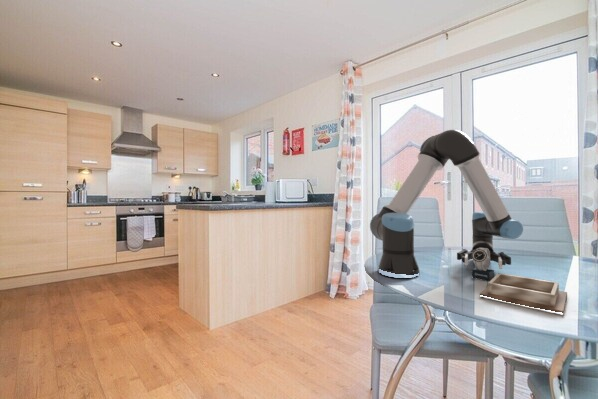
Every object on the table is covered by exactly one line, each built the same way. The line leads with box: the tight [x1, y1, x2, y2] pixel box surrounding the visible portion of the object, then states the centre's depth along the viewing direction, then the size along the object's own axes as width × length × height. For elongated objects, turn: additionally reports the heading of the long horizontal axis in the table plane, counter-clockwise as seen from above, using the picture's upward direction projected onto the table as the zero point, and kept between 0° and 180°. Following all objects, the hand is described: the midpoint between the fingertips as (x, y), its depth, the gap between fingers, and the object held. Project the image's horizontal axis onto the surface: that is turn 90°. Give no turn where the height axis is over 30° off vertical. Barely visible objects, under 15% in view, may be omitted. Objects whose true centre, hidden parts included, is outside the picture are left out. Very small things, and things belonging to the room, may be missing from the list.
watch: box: [471, 248, 495, 282], centre depth 100 cm, size 6×8×11 cm
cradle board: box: [479, 273, 568, 313], centre depth 82 cm, size 18×18×4 cm
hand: (482, 263), depth 96 cm, fingers open, 9 cm apart
